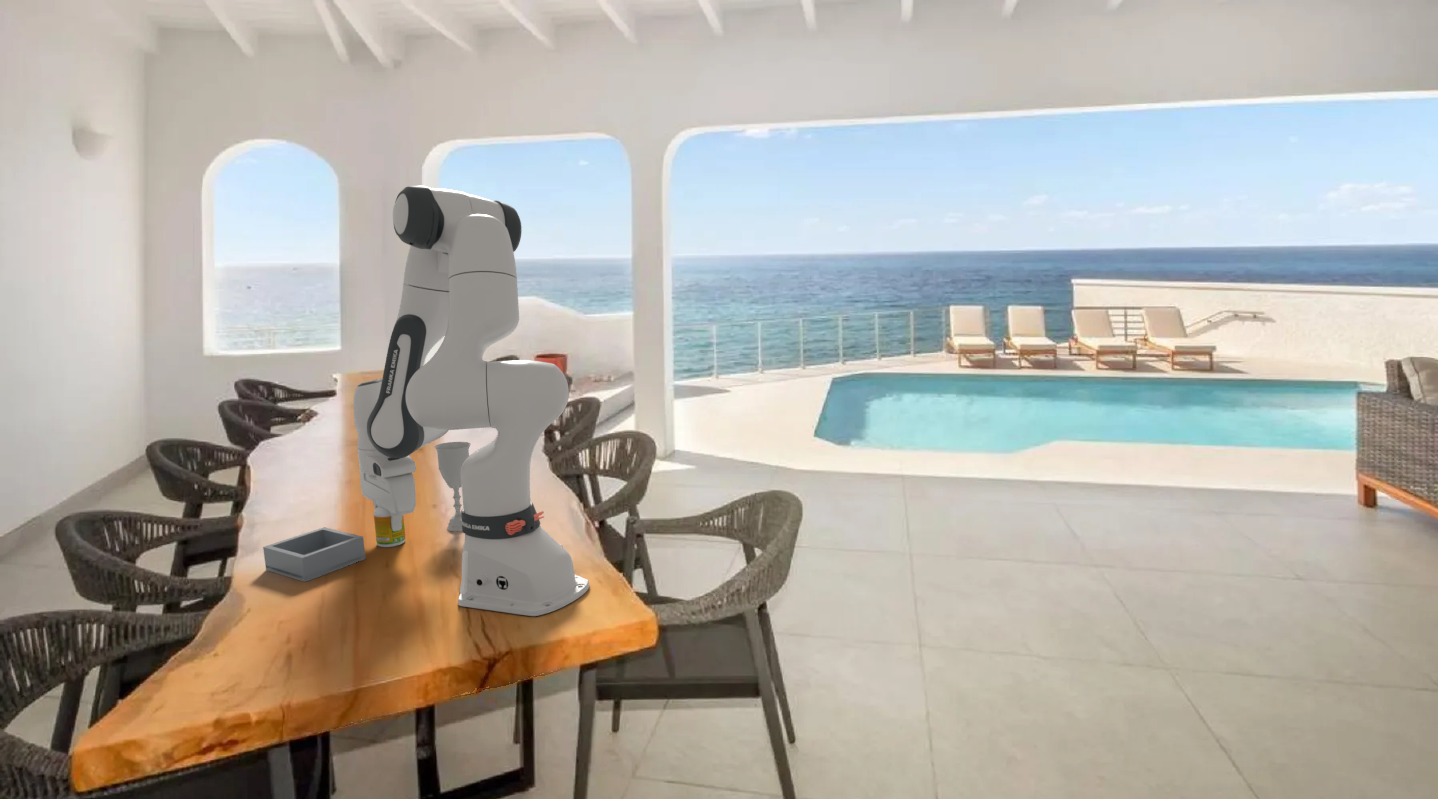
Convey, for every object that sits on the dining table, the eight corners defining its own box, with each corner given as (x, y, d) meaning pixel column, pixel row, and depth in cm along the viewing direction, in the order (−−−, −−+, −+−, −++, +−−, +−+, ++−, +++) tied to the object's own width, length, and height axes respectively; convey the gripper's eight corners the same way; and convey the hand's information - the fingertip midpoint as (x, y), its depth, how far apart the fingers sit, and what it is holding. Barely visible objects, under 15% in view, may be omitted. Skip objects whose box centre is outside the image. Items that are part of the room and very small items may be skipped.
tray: (365, 559, 143) (363, 536, 142) (305, 582, 133) (302, 557, 132) (326, 548, 149) (324, 527, 148) (266, 570, 139) (263, 547, 138)
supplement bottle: (395, 548, 148) (390, 501, 147) (371, 547, 149) (366, 500, 148) (411, 539, 154) (406, 493, 152) (387, 537, 155) (383, 492, 153)
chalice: (436, 532, 157) (428, 449, 154) (448, 522, 164) (441, 441, 161) (470, 532, 157) (463, 449, 154) (481, 521, 163) (475, 441, 160)
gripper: (348, 453, 154) (355, 518, 156) (385, 471, 139) (392, 542, 142) (380, 448, 158) (386, 511, 160) (419, 465, 143) (425, 533, 146)
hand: (389, 526), depth 151 cm, fingers closed on supplement bottle, 5 cm apart
